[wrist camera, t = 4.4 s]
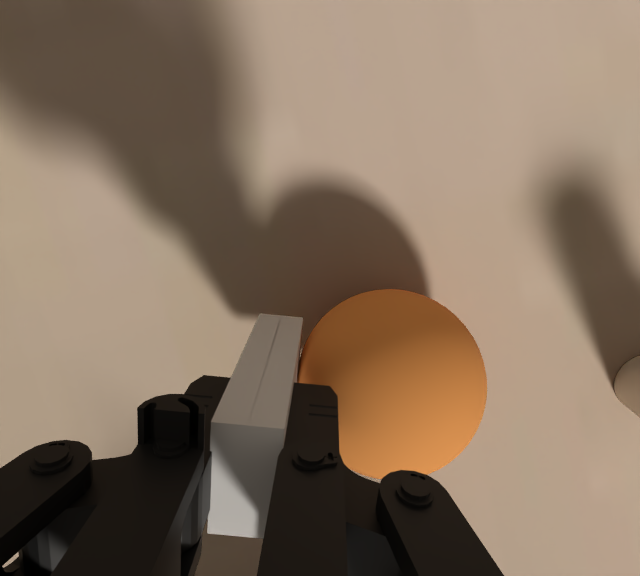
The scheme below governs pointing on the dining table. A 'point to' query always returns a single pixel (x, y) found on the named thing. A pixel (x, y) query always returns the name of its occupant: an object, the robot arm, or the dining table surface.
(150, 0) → the dining table surface
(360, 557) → the robot arm
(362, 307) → the ball
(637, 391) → the pin
